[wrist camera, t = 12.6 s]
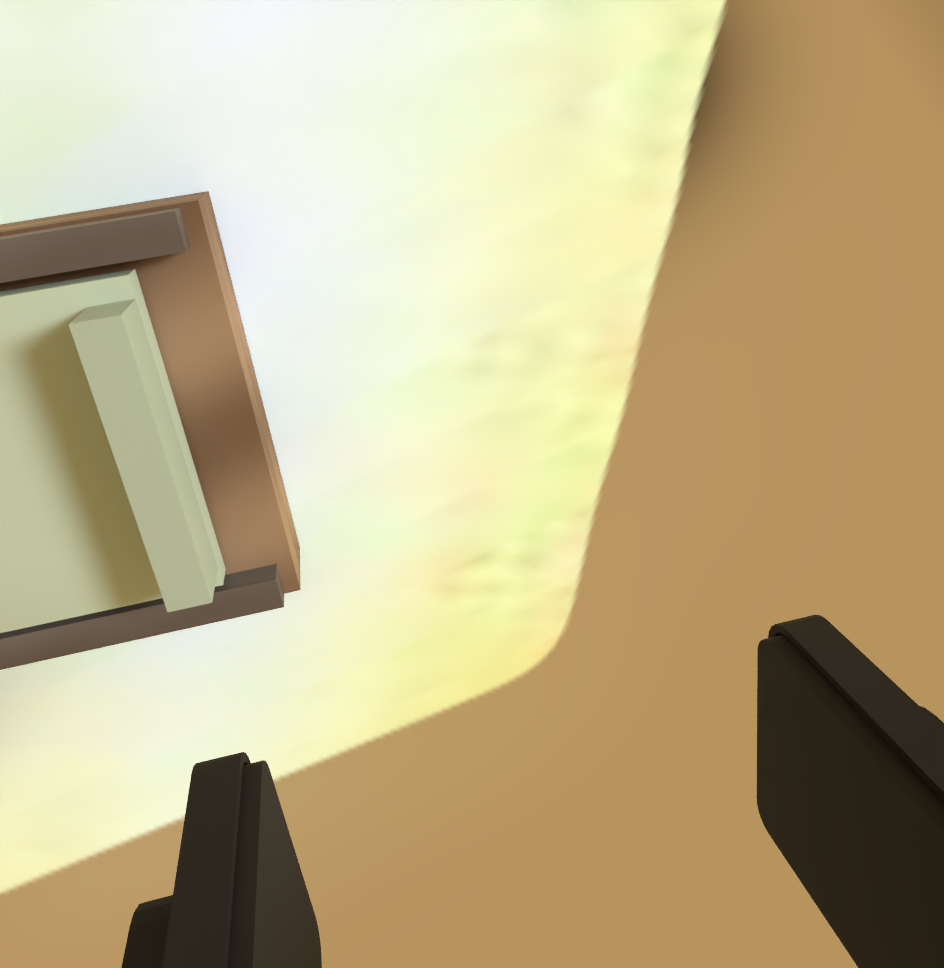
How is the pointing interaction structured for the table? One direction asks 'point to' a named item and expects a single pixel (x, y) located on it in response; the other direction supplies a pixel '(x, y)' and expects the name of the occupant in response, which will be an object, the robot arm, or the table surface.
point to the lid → (94, 460)
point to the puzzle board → (198, 396)
